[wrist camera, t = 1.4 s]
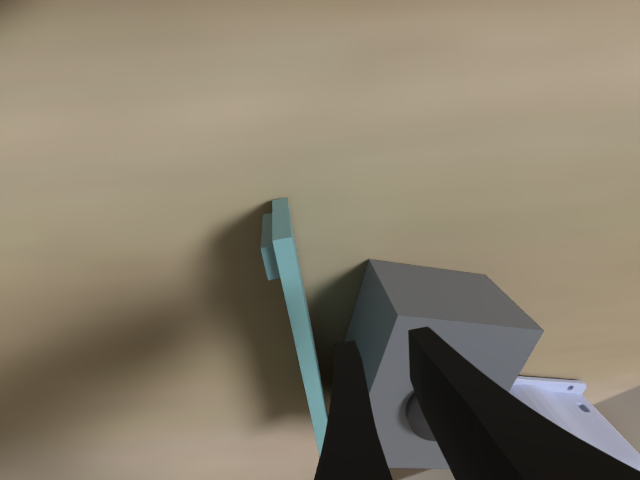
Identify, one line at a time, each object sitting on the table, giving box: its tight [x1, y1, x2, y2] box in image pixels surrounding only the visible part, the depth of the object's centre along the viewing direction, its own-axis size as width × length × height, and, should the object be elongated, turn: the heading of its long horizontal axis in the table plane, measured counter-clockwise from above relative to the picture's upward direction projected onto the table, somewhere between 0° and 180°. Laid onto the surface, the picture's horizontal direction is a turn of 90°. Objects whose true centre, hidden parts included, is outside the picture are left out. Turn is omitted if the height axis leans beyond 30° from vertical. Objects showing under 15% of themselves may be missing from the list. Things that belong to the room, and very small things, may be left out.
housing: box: [329, 259, 544, 469], centre depth 22 cm, size 8×11×6 cm
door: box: [261, 198, 328, 457], centre depth 20 cm, size 1×16×5 cm, turn 8°
